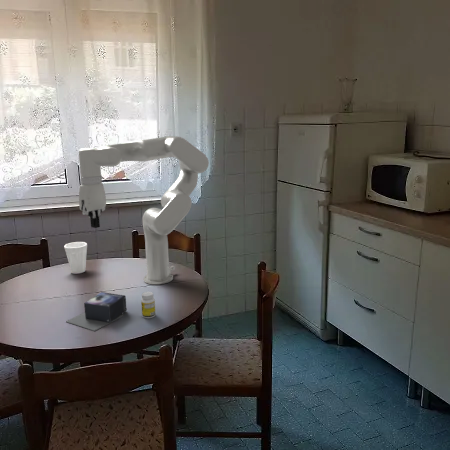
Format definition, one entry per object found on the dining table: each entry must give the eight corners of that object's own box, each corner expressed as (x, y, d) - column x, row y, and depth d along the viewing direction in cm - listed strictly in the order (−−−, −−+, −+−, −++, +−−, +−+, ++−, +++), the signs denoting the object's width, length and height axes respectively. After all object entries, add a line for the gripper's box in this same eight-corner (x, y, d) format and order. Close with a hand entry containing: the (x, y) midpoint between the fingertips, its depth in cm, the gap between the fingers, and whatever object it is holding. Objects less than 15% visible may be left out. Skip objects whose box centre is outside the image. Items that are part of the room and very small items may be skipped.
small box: (126, 294, 159) (109, 306, 150) (127, 310, 161) (110, 323, 151) (101, 290, 163) (83, 302, 153) (102, 307, 164) (85, 319, 155)
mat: (96, 307, 165) (96, 306, 165) (124, 315, 158) (124, 314, 158) (66, 322, 153) (65, 321, 153) (94, 331, 146) (94, 330, 146)
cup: (68, 269, 207) (65, 242, 204) (90, 267, 209) (87, 241, 206) (65, 276, 197) (62, 248, 194) (89, 274, 200) (86, 246, 197)
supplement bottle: (142, 313, 159) (141, 291, 157) (156, 312, 160) (154, 290, 158) (141, 319, 155) (140, 296, 153) (155, 318, 155) (153, 296, 153)
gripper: (99, 177, 177) (102, 222, 182) (69, 182, 165) (73, 230, 169) (112, 178, 173) (116, 224, 178) (83, 184, 161) (87, 232, 165)
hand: (95, 227), depth 173 cm, fingers closed
